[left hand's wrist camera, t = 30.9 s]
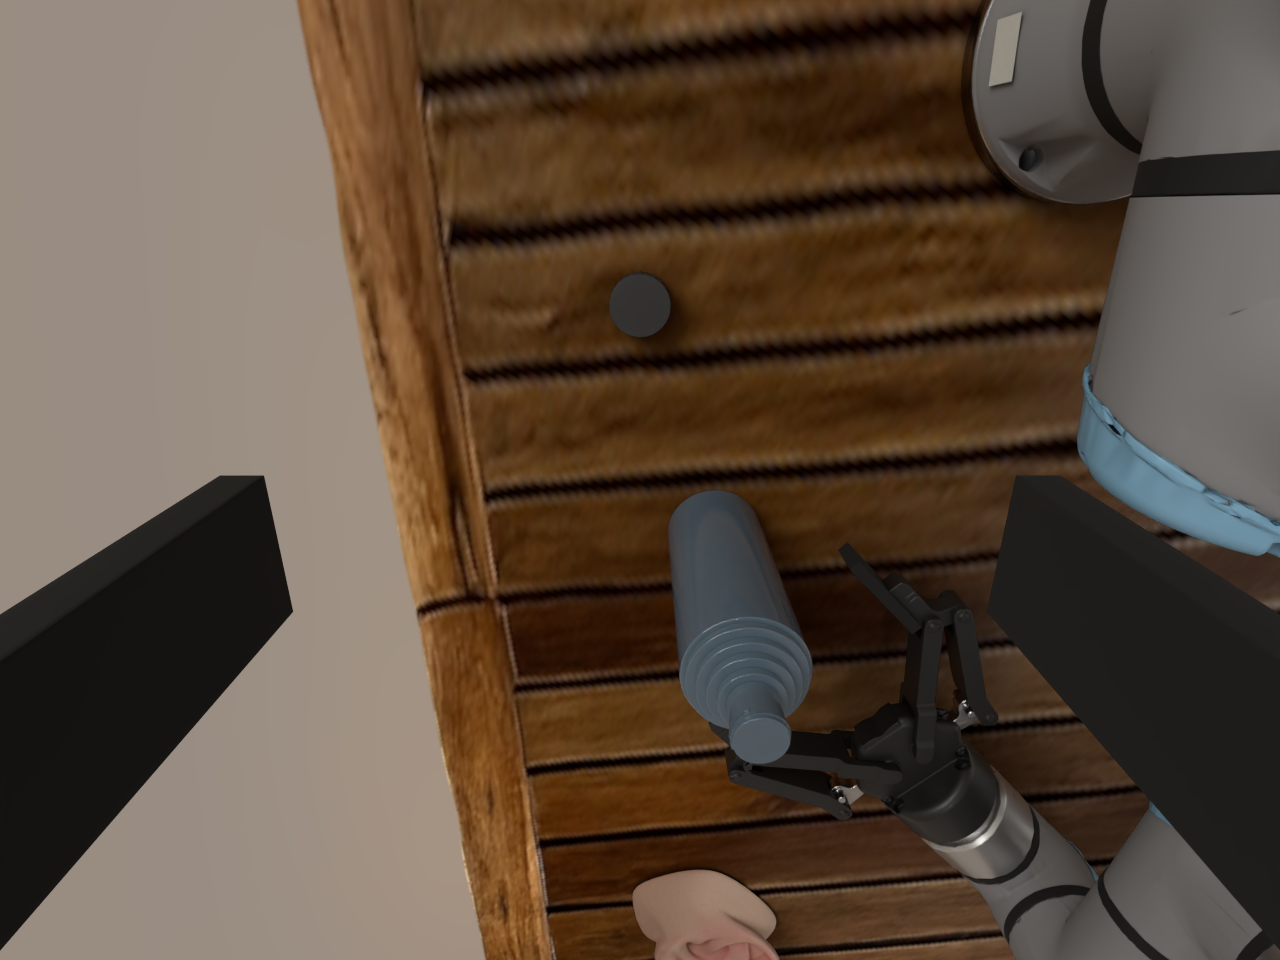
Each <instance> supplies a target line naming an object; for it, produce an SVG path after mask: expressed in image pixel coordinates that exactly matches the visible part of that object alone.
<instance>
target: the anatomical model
mask: <svg viewBox="0 0 1280 960" xmlns="http://www.w3.org/2000/svg"><path fill="white" fill-rule="evenodd" d="M633 906H634V910H635V915H636V919H637V921H638V923H639V925H640V927H641V930H642V931H643V933H644V934H645V935H646V936H647V937H648V938H649V939H651V940H653V941H655V942H656V949H655V960H779V957H778V955H777V953H776V951H775V950H774V948H773V947H772V946H771V945H770V944H769V943H768V941H766V939H767V938H768V937H769V936H770V934H771V933H772V932H773V930H774V929H775V926H776V917H775V915H774V914H773V912H772V911H771V909H770V908H769V907H768V906H767V905H766V904H765V903H764V902H763V901H762V900H761V899H759V898H758V897H757V896H756V895H755V894H754V893H752V892H751V891H750V890H748V889H747V888H746V887H744V886H743V885H741V884H740V883H738V882H737V881H735V880H733V879H732V878H730V877H728V876H726V875H724V874H721V873H719V872H715V871H711V870H687V871H681V872H675V873H671V874H667V875H663V876H660V877H656V878H653V879H651V880H648V881H645V882H644V883H642V884H640V885H639V886H637V887H636V889H635V890H634V892H633Z"/></svg>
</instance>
